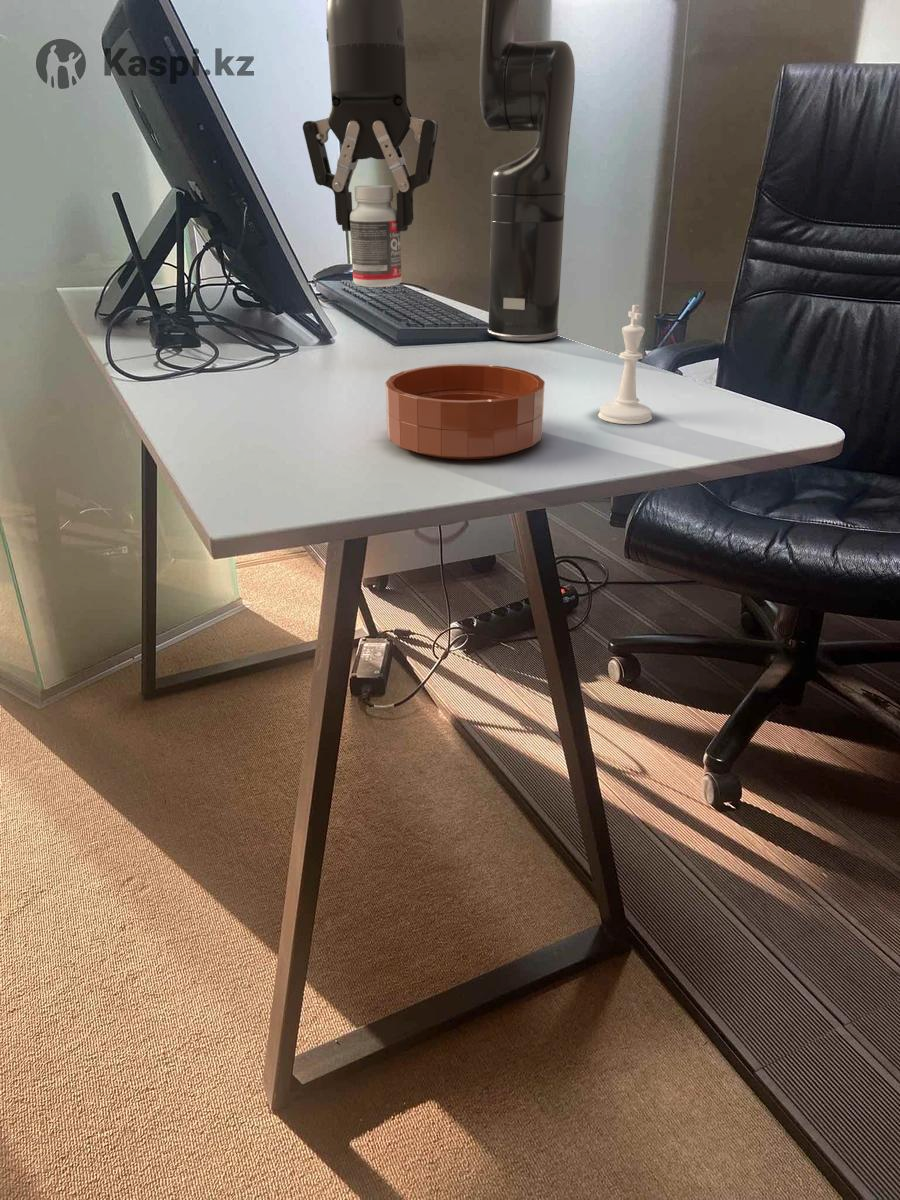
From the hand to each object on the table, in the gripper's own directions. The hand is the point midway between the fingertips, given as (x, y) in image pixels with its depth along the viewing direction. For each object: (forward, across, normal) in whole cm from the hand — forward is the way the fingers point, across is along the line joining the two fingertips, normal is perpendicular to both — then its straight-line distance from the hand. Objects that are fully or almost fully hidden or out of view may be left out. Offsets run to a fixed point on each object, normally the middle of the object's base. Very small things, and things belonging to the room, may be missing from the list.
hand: (374, 229), depth 92 cm
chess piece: (+15, -27, +17) cm, 35 cm away
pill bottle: (+6, 0, 0) cm, 6 cm away
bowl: (+14, -13, +26) cm, 33 cm away
